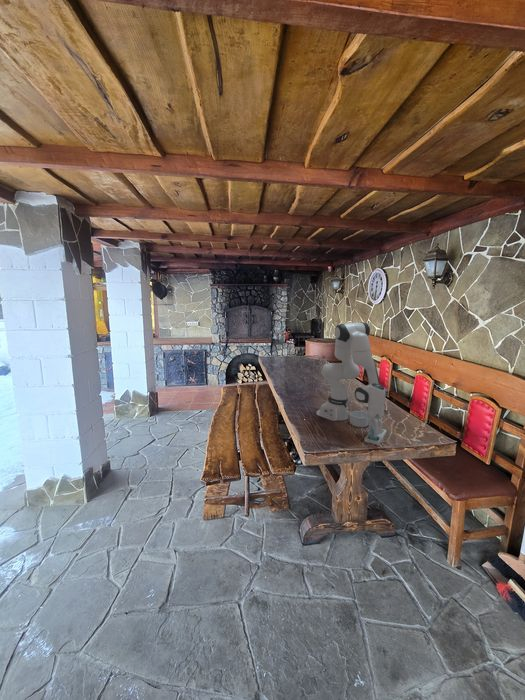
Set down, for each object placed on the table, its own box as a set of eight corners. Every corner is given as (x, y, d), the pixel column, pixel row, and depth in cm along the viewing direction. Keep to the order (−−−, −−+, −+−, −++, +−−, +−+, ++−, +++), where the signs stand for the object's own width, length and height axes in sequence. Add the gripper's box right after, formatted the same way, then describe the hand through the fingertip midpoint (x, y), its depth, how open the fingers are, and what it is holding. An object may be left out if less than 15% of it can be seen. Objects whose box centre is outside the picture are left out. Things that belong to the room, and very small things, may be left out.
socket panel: (364, 441, 163) (364, 438, 163) (373, 429, 179) (373, 426, 179) (378, 445, 159) (379, 442, 158) (386, 433, 175) (386, 430, 175)
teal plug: (369, 439, 164) (370, 425, 163) (371, 437, 167) (372, 423, 166) (375, 441, 162) (377, 427, 161) (377, 439, 165) (378, 425, 163)
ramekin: (353, 418, 197) (353, 409, 196) (372, 423, 189) (372, 414, 187) (345, 424, 187) (346, 414, 186) (365, 430, 178) (366, 420, 177)
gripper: (386, 419, 151) (384, 443, 153) (377, 405, 171) (375, 427, 173) (374, 418, 152) (372, 442, 154) (366, 405, 172) (364, 426, 174)
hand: (373, 434), depth 164 cm, fingers closed on teal plug, 5 cm apart
